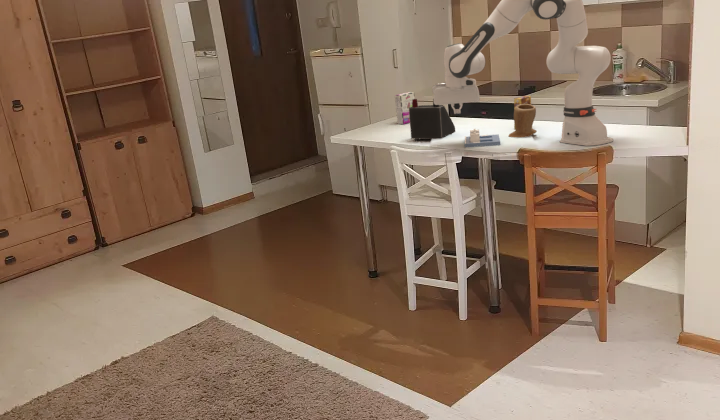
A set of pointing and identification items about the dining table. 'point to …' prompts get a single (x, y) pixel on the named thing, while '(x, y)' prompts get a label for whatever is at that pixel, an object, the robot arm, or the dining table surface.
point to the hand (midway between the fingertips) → (457, 113)
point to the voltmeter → (429, 121)
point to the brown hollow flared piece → (524, 120)
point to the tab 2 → (474, 137)
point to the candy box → (521, 102)
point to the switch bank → (483, 141)
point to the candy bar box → (403, 107)
